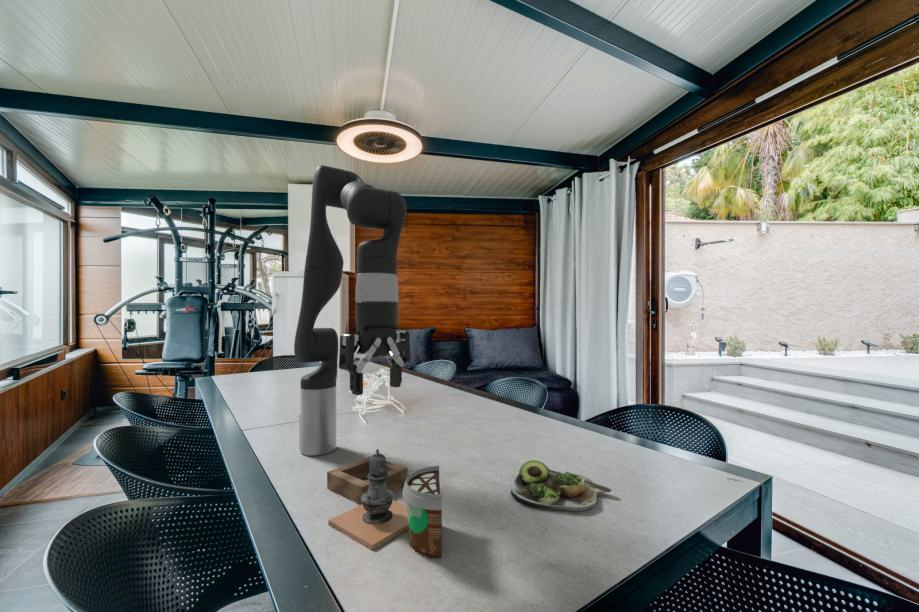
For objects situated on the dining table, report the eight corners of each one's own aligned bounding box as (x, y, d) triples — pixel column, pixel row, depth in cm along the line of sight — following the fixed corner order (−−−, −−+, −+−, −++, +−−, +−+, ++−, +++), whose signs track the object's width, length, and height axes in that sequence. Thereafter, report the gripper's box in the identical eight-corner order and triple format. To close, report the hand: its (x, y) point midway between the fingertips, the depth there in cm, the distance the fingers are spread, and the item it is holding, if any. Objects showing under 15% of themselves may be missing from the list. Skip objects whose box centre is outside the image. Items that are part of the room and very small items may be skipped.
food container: (404, 522, 70) (404, 465, 70) (439, 520, 70) (439, 464, 70) (400, 567, 57) (399, 498, 57) (442, 564, 58) (441, 496, 58)
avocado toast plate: (609, 482, 86) (609, 461, 86) (613, 523, 69) (613, 497, 69) (521, 471, 92) (521, 452, 93) (505, 507, 76) (505, 482, 76)
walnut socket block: (327, 488, 83) (327, 471, 83) (372, 470, 93) (372, 455, 93) (362, 505, 76) (362, 487, 76) (407, 484, 85) (407, 468, 85)
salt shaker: (386, 527, 67) (386, 455, 67) (354, 523, 68) (354, 453, 68) (399, 510, 72) (398, 444, 73) (369, 507, 74) (369, 442, 74)
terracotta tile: (328, 524, 69) (328, 520, 69) (381, 499, 78) (381, 495, 78) (372, 550, 61) (372, 545, 61) (425, 518, 71) (425, 514, 71)
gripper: (393, 301, 78) (393, 382, 78) (330, 299, 67) (329, 394, 67) (419, 300, 74) (420, 387, 73) (356, 298, 63) (356, 400, 62)
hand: (377, 390), depth 70 cm, fingers open, 8 cm apart
